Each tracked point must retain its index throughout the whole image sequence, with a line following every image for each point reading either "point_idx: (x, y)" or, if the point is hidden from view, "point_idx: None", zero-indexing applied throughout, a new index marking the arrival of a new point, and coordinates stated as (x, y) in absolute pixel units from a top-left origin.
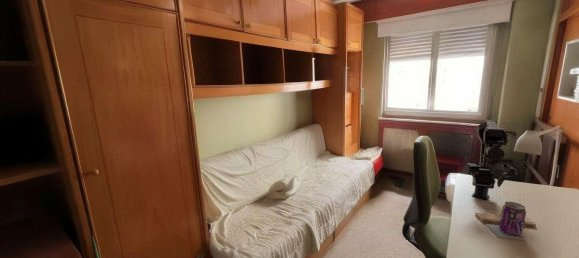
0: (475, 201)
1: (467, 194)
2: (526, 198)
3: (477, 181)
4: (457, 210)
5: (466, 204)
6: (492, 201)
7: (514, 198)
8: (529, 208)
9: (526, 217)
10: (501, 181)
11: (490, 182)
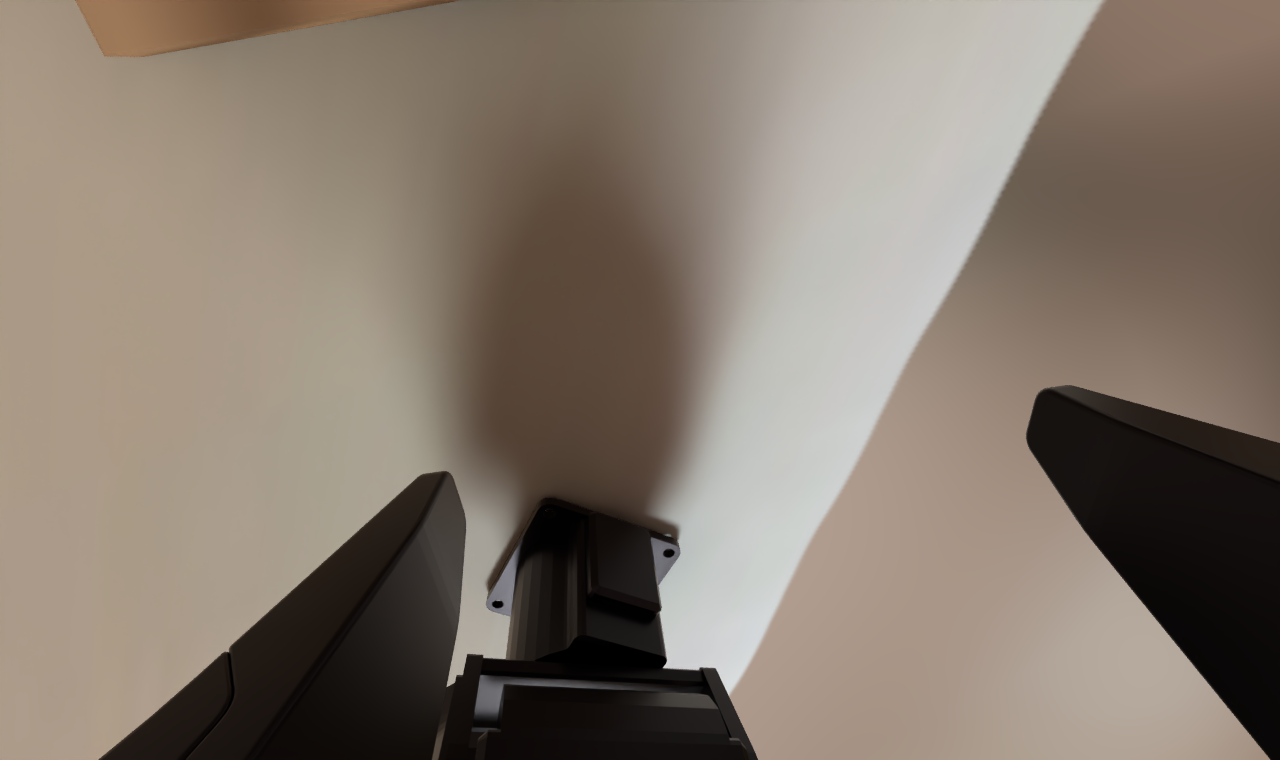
0: (684, 427)
1: (708, 571)
2: (102, 683)
3: (1188, 444)
4: (1064, 40)
5: (835, 300)
6: (480, 494)
7: (224, 644)
8: (77, 457)
9: (96, 17)
10: (321, 626)
11: (516, 739)
